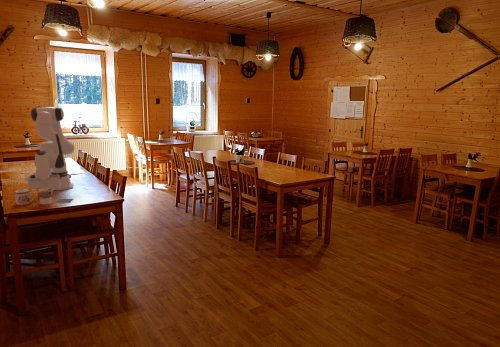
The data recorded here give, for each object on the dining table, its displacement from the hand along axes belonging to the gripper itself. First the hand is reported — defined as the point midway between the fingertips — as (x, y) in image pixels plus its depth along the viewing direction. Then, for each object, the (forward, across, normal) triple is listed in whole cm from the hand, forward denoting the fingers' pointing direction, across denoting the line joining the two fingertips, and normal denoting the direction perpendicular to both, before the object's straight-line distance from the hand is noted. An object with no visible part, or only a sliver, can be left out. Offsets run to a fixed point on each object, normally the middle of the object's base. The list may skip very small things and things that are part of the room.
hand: (45, 194), depth 262 cm
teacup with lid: (+7, +15, -5) cm, 17 cm away
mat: (+7, -11, -4) cm, 14 cm away
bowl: (+7, 0, 0) cm, 7 cm away
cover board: (+1, 0, 0) cm, 1 cm away
